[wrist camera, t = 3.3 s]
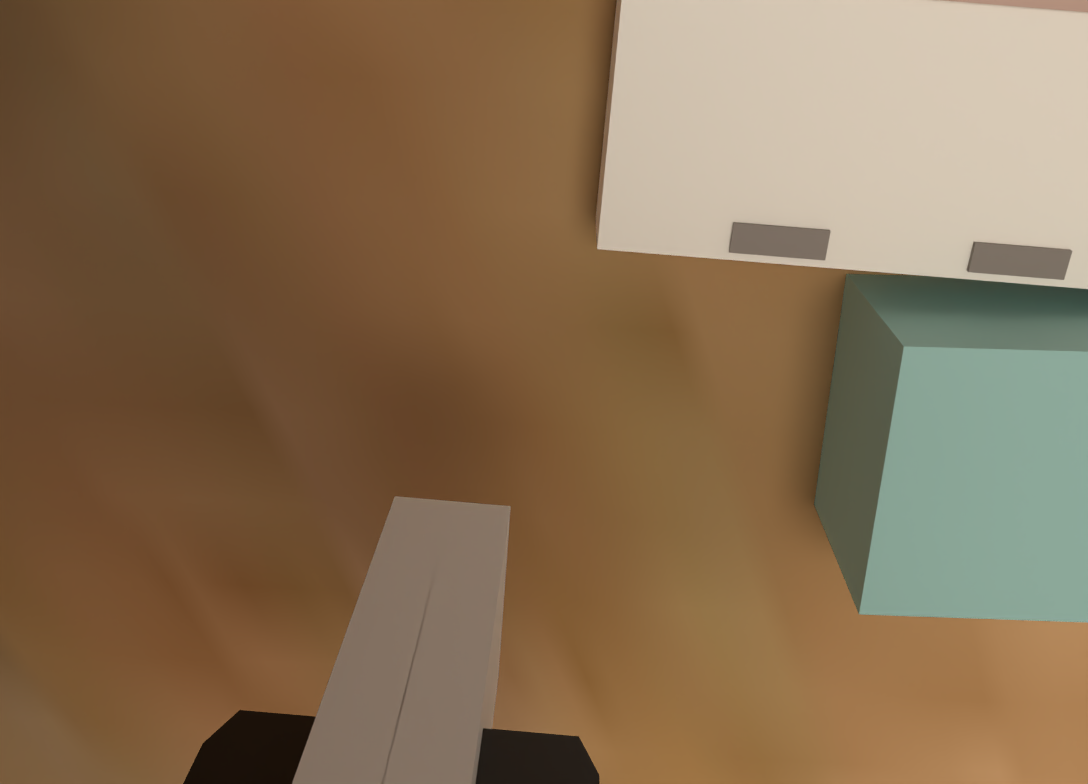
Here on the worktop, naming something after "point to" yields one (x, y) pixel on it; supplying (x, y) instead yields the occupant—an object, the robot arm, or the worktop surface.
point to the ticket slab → (852, 135)
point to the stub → (959, 448)
